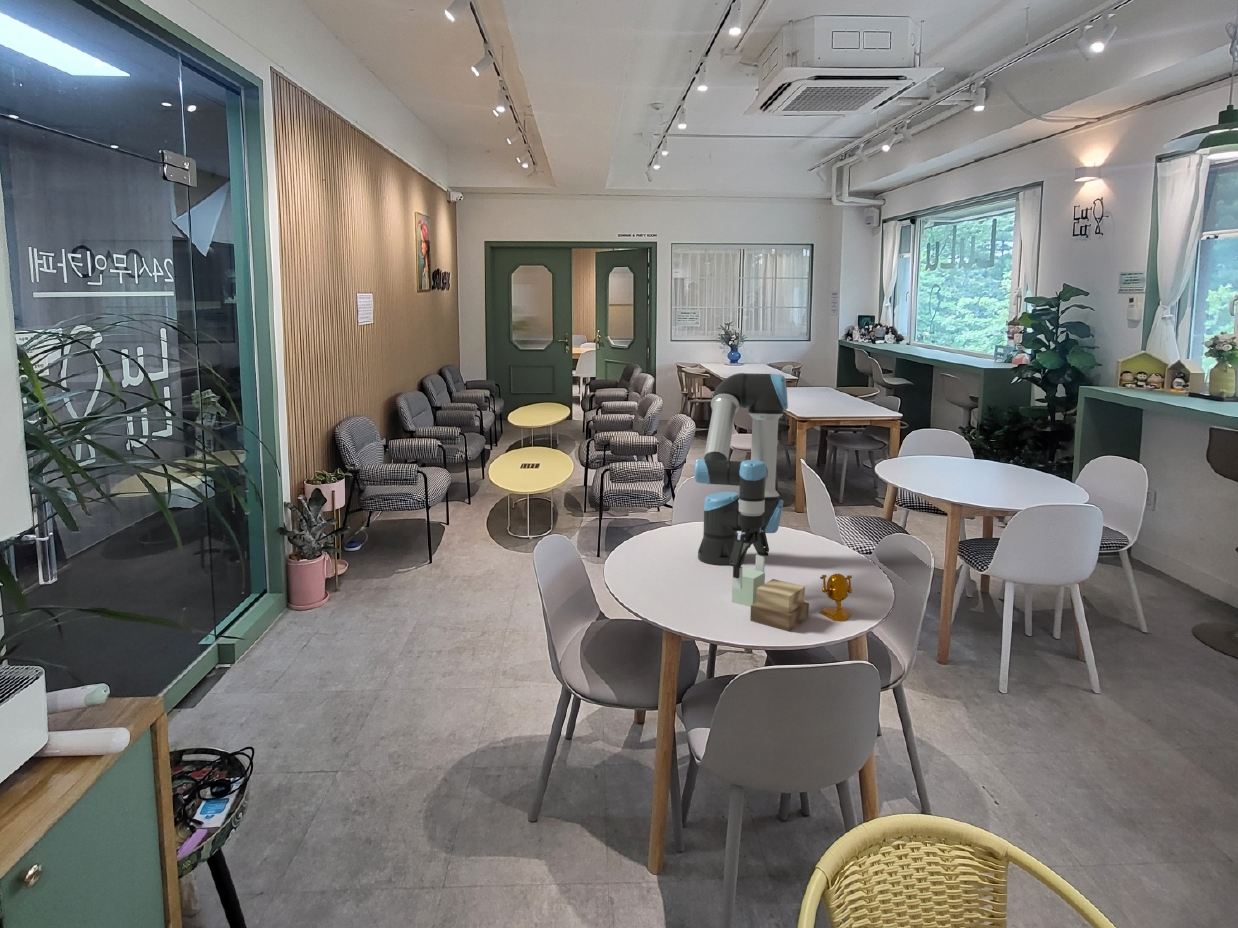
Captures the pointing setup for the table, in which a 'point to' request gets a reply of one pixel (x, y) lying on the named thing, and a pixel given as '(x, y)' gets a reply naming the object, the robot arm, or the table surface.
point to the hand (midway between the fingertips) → (748, 582)
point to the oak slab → (780, 596)
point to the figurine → (837, 596)
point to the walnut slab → (779, 617)
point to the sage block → (748, 587)
